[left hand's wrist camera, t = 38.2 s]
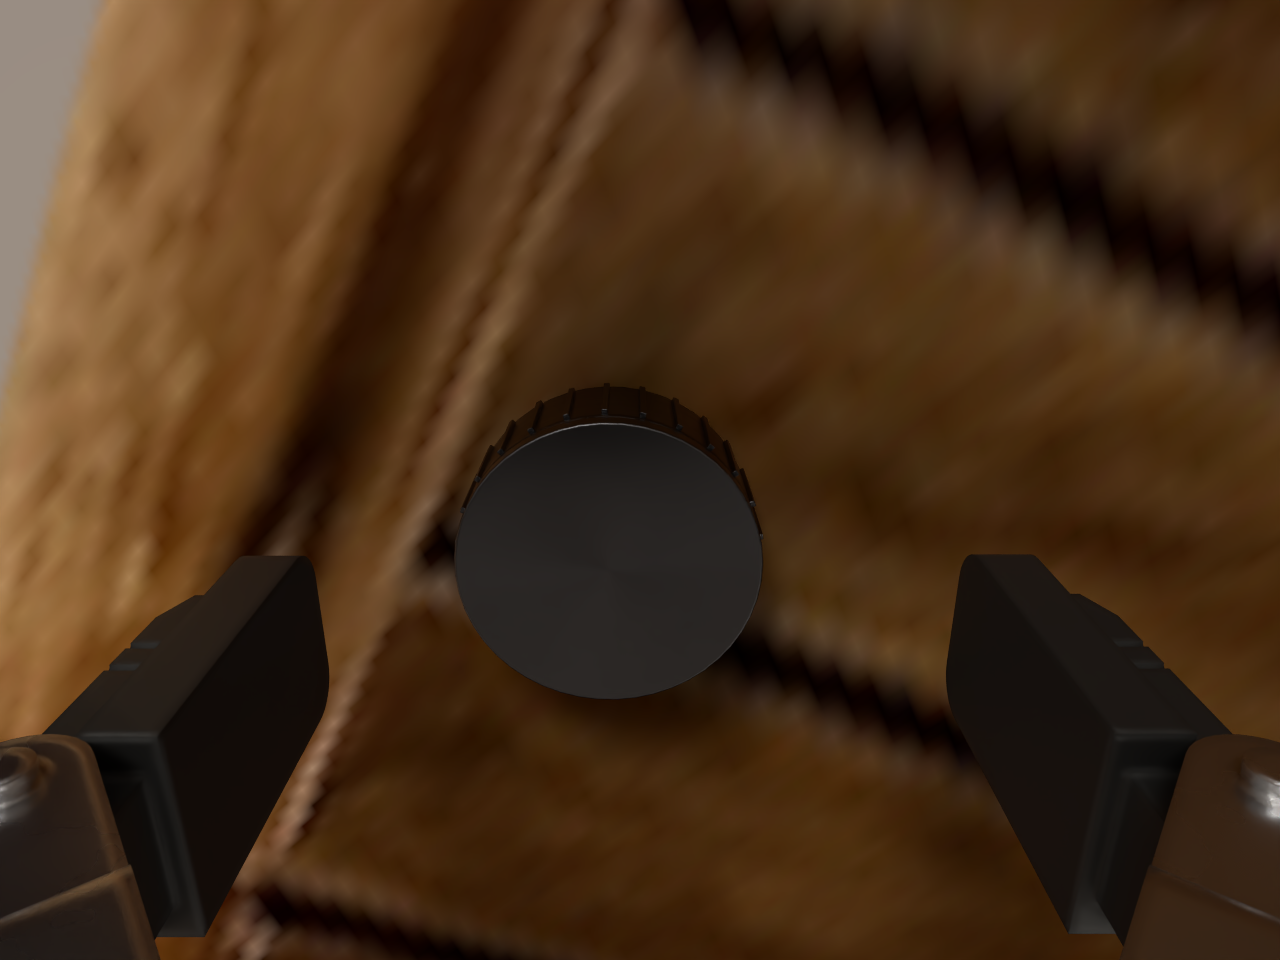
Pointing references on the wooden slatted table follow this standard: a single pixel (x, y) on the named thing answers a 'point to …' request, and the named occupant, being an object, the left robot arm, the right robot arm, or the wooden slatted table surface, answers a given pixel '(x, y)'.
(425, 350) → the wooden slatted table surface
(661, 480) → the cap
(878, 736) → the wooden slatted table surface
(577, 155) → the wooden slatted table surface
